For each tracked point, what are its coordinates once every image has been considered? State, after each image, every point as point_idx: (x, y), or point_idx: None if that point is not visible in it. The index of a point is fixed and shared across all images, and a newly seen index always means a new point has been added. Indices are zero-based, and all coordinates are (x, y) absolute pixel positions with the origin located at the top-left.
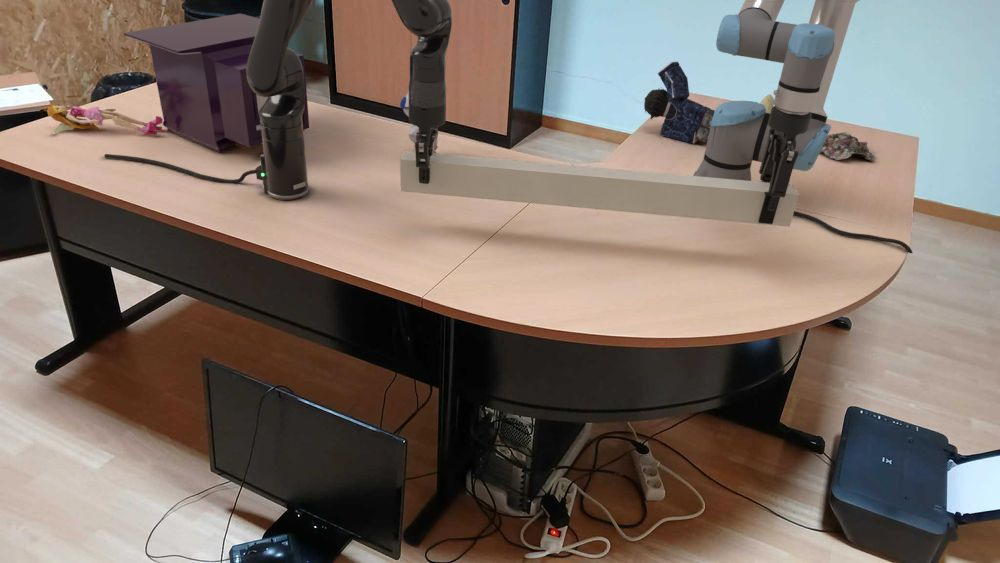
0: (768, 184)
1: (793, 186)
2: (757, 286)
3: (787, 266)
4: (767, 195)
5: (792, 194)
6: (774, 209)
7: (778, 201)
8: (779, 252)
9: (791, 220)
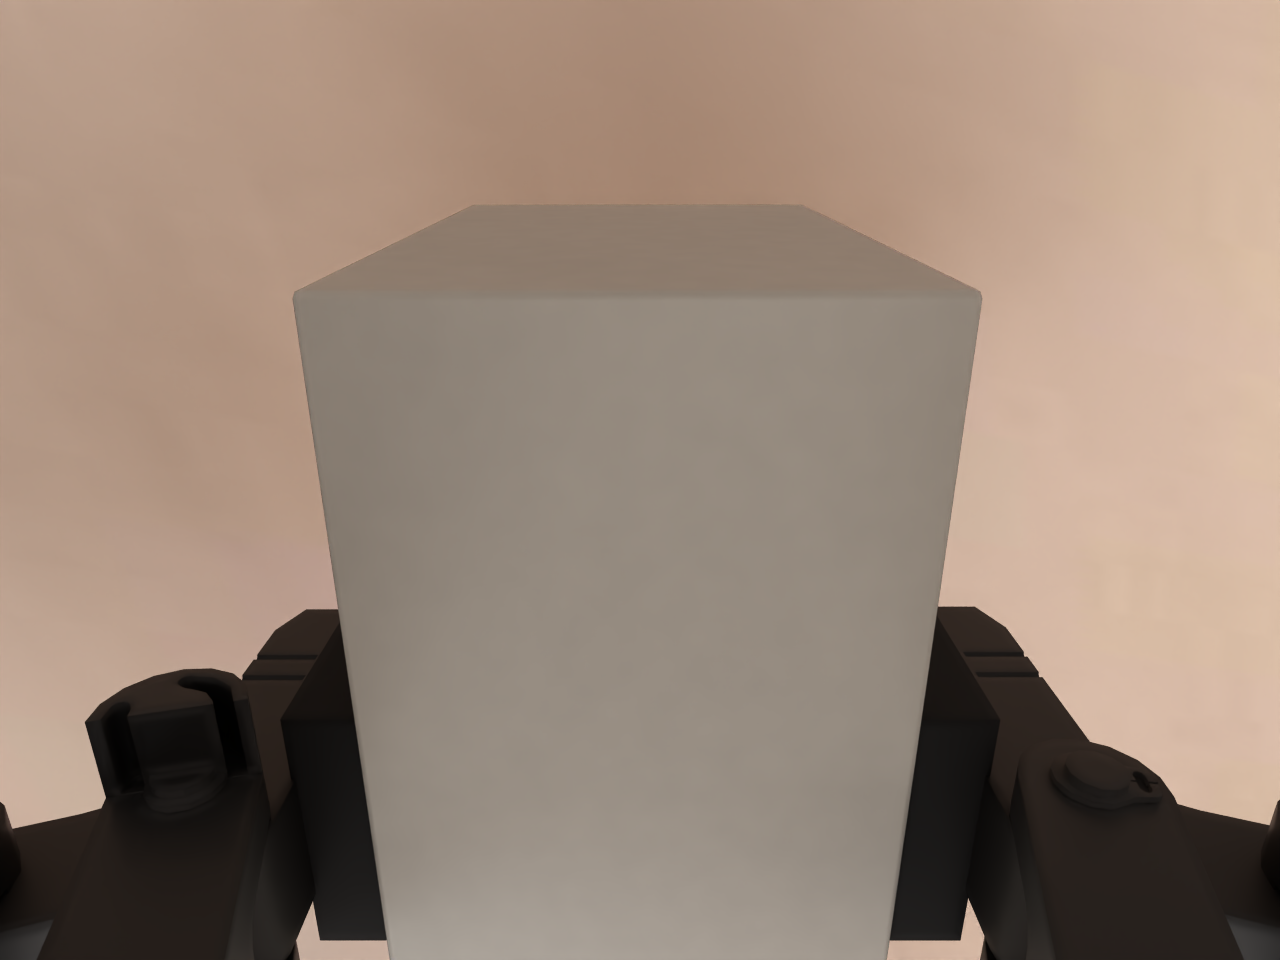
0: (490, 862)
1: (423, 315)
2: (1055, 407)
3: (712, 75)
4: (958, 911)
5: (951, 460)
6: (998, 636)
7: (951, 646)
8: (461, 88)
9: (820, 215)
